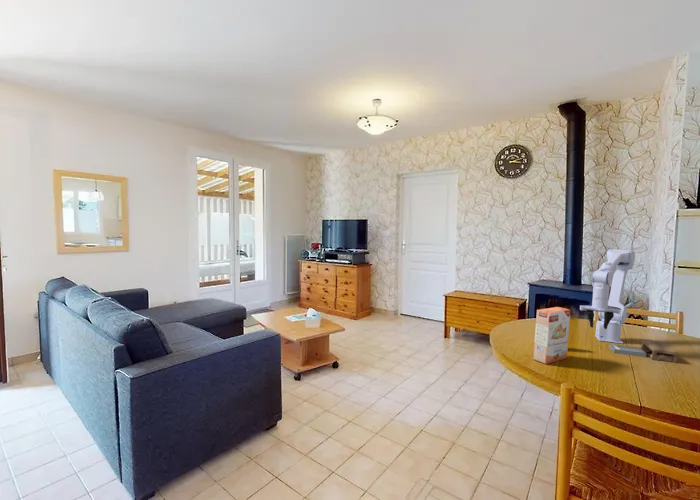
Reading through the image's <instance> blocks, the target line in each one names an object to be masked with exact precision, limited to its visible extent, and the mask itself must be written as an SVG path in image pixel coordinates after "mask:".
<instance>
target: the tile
mask: <svg viewBox="0 0 700 500" xmlns="http://www.w3.org/2000/svg"><path fill="white" fill-rule="evenodd" d="M608 345H609V347H608V348H609V350H611V352H612V353H613V354H620V355H626V356H633V357H635V356H636V357H642V358H646V357H647V352H646V351H643V350H642V349H641V347H638V346H637V347H636V346H627V345H620V344H614V343H612V344H611V343H609V344H608Z"/></svg>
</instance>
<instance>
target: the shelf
mask: <svg viewBox="0 0 700 500" xmlns="http://www.w3.org/2000/svg"><path fill="white" fill-rule="evenodd" d="M640 348H641V349H642V350H643V351H644V352H646V353H651V354H650V360H652V361H665V362H672V363H674V364H677V361H678V352H677V351H676V350H675V349H673V348H672V347H670V346H669V345H668V344H666V343H665V342H658V341H648V340H642V344H641V347H640Z"/></svg>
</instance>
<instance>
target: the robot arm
mask: <svg viewBox="0 0 700 500" xmlns="http://www.w3.org/2000/svg"><path fill="white" fill-rule="evenodd" d="M635 258H636V254H635V251H634V250H633V249H631V250H630V249H629V250H628V249H613V248H609V249H608V250H607V252H606V260H607V261H606V262H603V263H602V264H601V265H600V267H599V268H598V270H595V271H593V272H592V274H591V284H592V285H591V286H592V287H593V288H592V301H591V305H579V310H580V311H585V313H586V315H587V319H588V321H589V327H590V328H592V329H593V328H594V319H595V318H594V317H595V313H594V312H597V313H598V317H599V319H600V320H597V321H596V324H595V334H594V336H595V338H596V339H597V340H598V341H600V342H606V343H607V342H608V343H613V344H614V343H616V344H624V342H623V341H622V340H621V334H622V333H621V332H622V324H624V323H626V320H627V317H628V309H627V307H626V306H625V305H624V304H623V303H622V299H623V293H624V289H625V283H626V278H627V274H628V271H629V270H632V269H633V267H634V263H635ZM610 285H611V288H610Z"/></svg>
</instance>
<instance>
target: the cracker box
mask: <svg viewBox="0 0 700 500" xmlns="http://www.w3.org/2000/svg"><path fill="white" fill-rule="evenodd" d="M571 312H572V311H571V309H568V308H565V307H560V306H554V307H549V308H541V309H536V318H535V331H534V341H533V342H534V343H533V344H534V345H533V354H532V357H533V360H534V361H537V362H539V363H542V364H544V365H548V364H551V363H555V362H559V361H563V360H566V359H567V355H568V350H567V348H568V346H569V345H568V344H569V343H568V342H569V334H570V333H569V332H570V321H571Z"/></svg>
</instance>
